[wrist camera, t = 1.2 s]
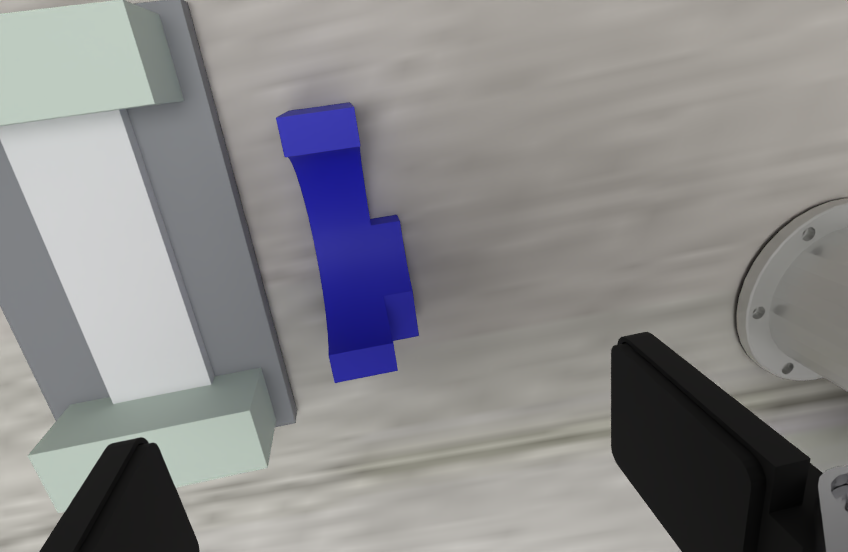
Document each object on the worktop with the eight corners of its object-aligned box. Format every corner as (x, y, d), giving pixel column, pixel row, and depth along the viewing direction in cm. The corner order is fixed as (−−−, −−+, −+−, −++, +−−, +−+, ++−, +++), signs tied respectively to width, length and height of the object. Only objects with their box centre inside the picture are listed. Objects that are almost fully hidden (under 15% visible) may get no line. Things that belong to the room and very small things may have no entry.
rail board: (187, 2, 23) (147, -21, 18) (297, 410, 31) (289, 471, 26) (-107, 37, 21) (-236, 23, 16) (88, 453, 29) (40, 525, 25)
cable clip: (411, 312, 30) (428, 364, 24) (334, 326, 29) (334, 383, 24) (379, 98, 25) (392, 101, 20) (288, 110, 25) (276, 117, 19)
